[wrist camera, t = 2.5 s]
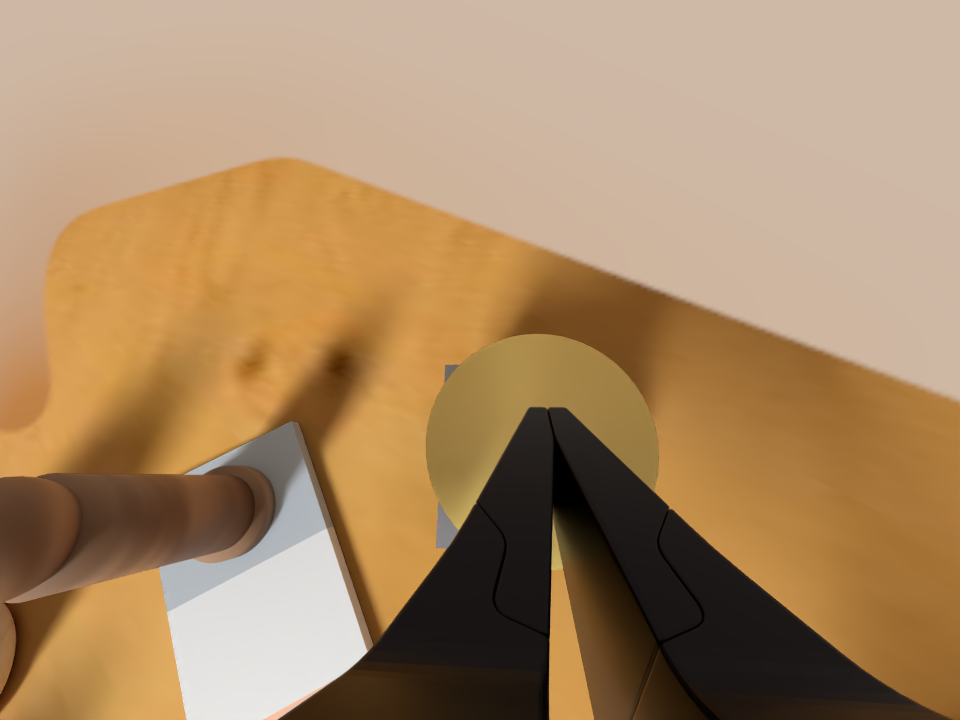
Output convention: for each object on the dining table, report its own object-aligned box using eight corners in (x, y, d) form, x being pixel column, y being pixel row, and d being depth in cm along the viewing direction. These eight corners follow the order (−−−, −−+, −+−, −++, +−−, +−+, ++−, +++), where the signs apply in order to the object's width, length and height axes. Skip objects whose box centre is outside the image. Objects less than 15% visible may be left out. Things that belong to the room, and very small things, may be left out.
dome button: (601, 532, 16) (675, 575, 9) (456, 527, 16) (417, 565, 9) (590, 389, 18) (644, 332, 11) (461, 389, 18) (432, 334, 11)
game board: (428, 807, 16) (424, 823, 16) (240, 921, 16) (227, 943, 15) (298, 422, 22) (291, 420, 22) (158, 492, 22) (145, 493, 21)
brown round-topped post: (259, 566, 19) (-75, 685, 8) (178, 551, 20) (-239, 643, 9) (286, 472, 21) (31, 466, 10) (209, 460, 21) (-116, 441, 10)
